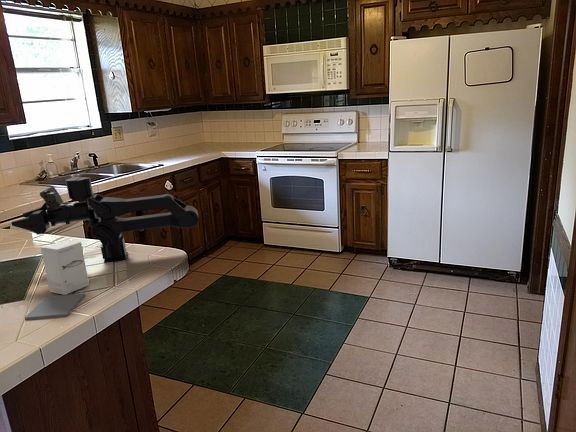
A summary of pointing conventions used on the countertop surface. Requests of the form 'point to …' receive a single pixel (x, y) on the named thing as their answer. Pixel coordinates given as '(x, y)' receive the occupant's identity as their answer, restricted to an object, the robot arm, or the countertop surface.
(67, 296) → the rubber mat
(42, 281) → the countertop surface
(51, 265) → the supplement box
